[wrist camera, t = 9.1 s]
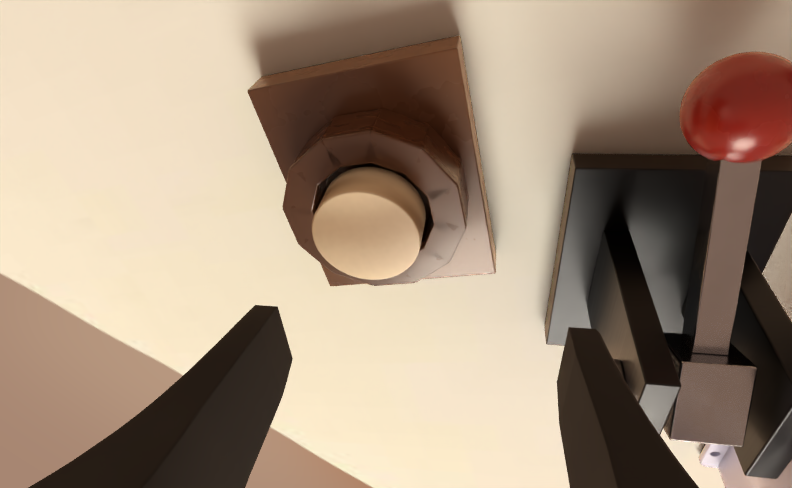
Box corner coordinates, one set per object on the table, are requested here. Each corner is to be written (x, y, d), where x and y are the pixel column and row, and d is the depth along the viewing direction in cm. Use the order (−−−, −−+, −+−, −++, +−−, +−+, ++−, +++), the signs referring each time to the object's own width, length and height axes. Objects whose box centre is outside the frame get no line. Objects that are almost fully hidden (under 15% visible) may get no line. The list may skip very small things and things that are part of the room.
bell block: (495, 252, 24) (495, 305, 21) (337, 266, 26) (318, 316, 23) (460, 34, 18) (453, 68, 15) (260, 76, 20) (224, 112, 18)
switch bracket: (572, 152, 20) (609, 311, 13) (797, 155, 19) (967, 333, 12) (544, 326, 26) (560, 496, 19) (713, 338, 25) (793, 525, 18)
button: (435, 247, 20) (430, 276, 19) (341, 256, 21) (331, 284, 20) (413, 158, 18) (406, 184, 17) (309, 173, 19) (295, 199, 18)
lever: (671, 59, 16) (713, 45, 13) (781, 57, 16) (852, 42, 13) (630, 394, 19) (657, 446, 16) (722, 402, 19) (768, 458, 16)
